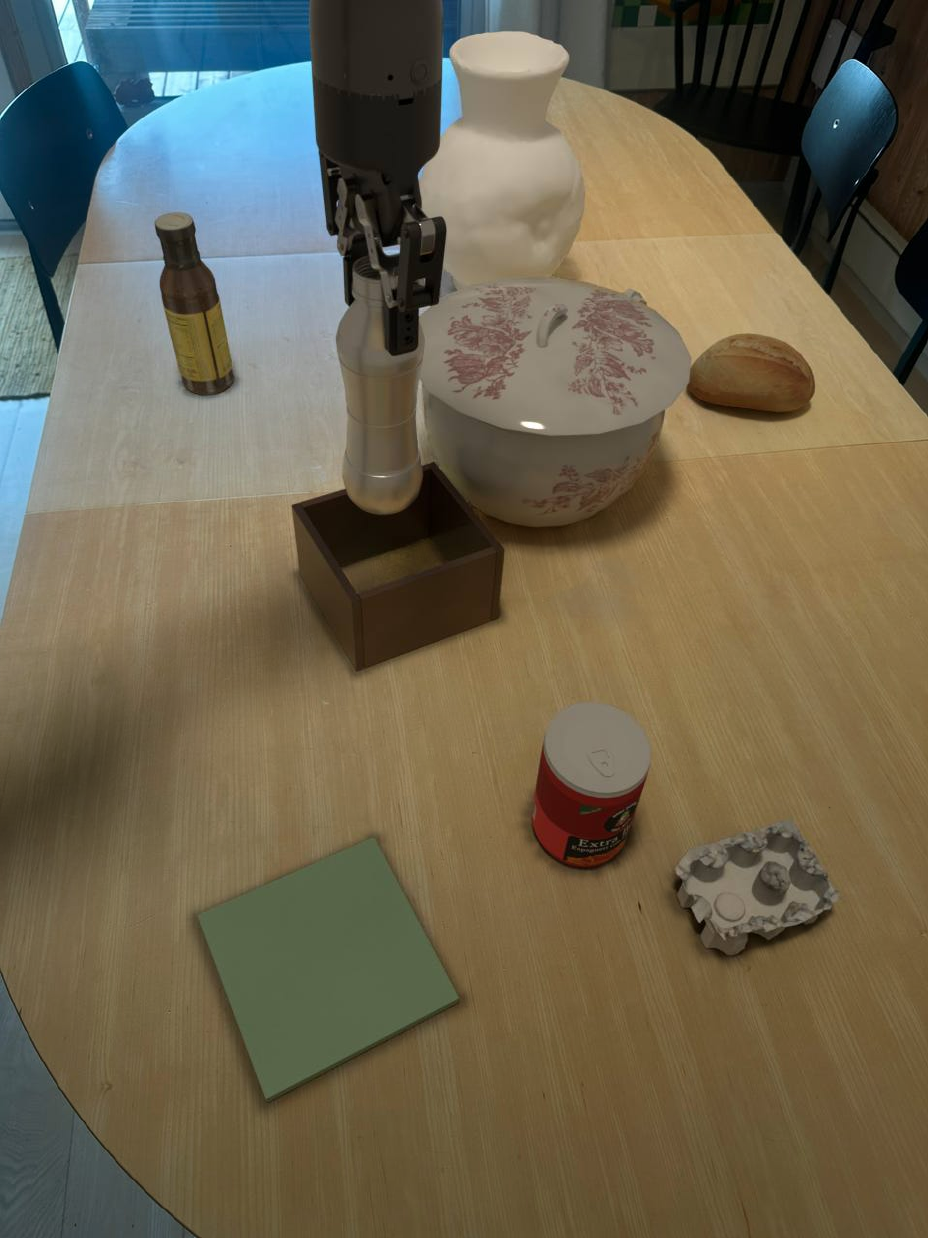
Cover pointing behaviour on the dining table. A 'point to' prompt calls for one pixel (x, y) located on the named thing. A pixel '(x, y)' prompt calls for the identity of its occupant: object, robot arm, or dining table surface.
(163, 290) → the sauce bottle
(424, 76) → the robot arm
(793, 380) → the bread roll
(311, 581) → the crate
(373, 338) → the plastic bottle
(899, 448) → the dining table surface
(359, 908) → the mat
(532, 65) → the vase
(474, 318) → the chamber pot
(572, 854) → the canned food
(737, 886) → the egg carton
